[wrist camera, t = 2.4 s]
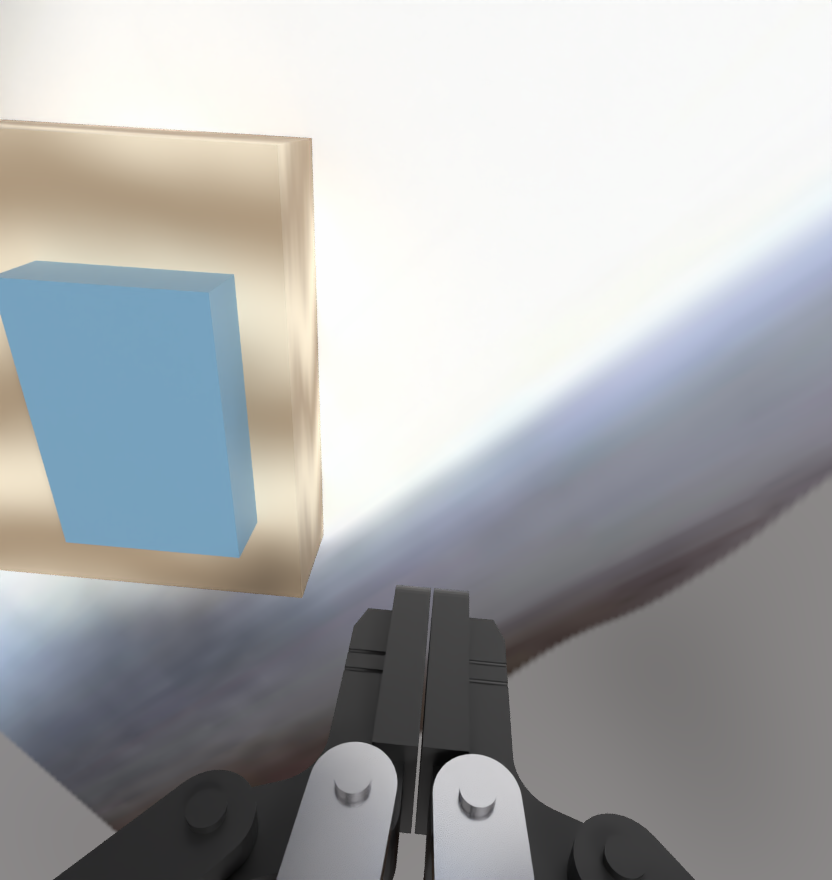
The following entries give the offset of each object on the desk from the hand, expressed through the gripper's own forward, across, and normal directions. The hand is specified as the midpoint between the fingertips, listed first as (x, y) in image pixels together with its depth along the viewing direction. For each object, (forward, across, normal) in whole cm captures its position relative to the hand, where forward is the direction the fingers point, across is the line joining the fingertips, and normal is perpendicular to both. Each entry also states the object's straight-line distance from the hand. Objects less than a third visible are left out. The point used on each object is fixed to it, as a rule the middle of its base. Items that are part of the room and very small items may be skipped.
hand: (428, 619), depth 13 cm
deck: (+12, +13, 0) cm, 18 cm away
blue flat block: (+8, +10, 0) cm, 13 cm away
